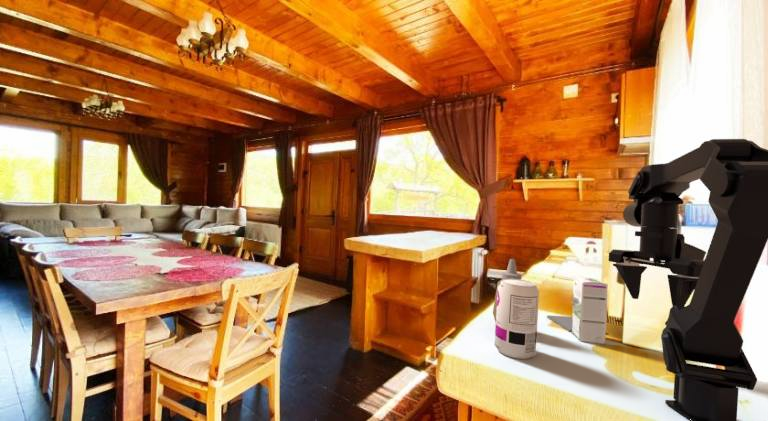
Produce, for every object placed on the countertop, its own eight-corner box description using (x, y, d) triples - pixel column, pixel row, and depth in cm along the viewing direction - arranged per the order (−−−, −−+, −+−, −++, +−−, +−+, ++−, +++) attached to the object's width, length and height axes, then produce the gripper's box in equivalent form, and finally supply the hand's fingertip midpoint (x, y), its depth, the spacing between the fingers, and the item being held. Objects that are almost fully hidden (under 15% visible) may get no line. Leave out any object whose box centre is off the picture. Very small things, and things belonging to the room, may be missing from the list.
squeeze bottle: (485, 325, 84) (489, 257, 84) (507, 322, 88) (511, 256, 88) (509, 336, 77) (513, 262, 77) (532, 333, 81) (536, 261, 80)
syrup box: (606, 344, 76) (609, 283, 76) (578, 341, 77) (582, 281, 77) (595, 335, 81) (598, 278, 81) (570, 332, 82) (573, 276, 82)
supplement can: (487, 350, 69) (491, 280, 69) (504, 340, 75) (508, 276, 75) (526, 364, 63) (530, 288, 63) (541, 353, 69) (545, 283, 69)
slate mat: (607, 333, 83) (607, 331, 83) (569, 331, 83) (569, 329, 83) (580, 319, 94) (580, 317, 94) (547, 317, 94) (547, 315, 94)
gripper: (751, 232, 56) (746, 321, 56) (653, 227, 75) (649, 294, 74) (692, 229, 55) (688, 319, 55) (608, 225, 74) (604, 292, 74)
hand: (654, 304), depth 65 cm, fingers open, 9 cm apart
